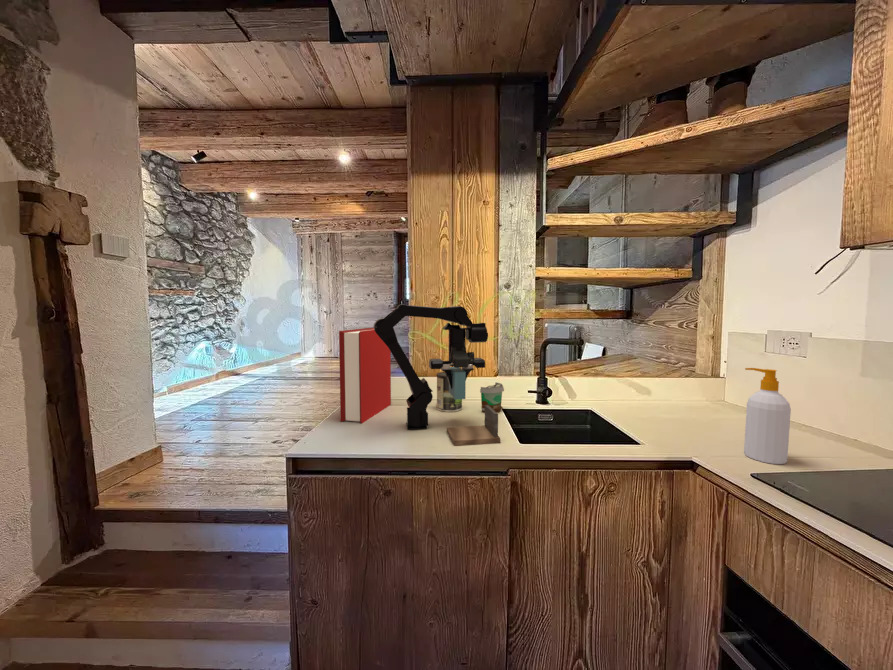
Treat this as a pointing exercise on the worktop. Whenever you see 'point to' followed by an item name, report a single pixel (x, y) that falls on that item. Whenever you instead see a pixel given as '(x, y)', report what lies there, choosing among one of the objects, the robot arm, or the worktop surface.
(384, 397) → the book
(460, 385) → the teal book
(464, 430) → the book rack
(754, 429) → the soap bottle
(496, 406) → the food container
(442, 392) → the coffee can
